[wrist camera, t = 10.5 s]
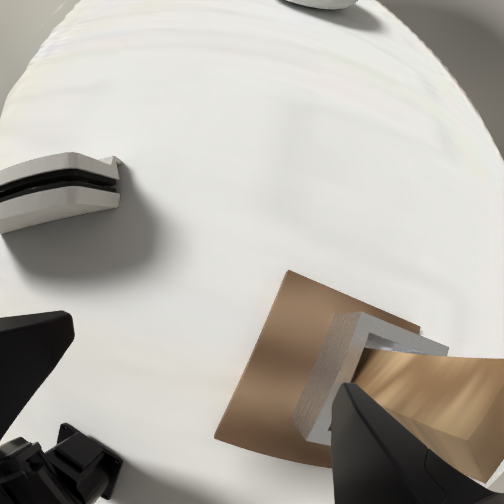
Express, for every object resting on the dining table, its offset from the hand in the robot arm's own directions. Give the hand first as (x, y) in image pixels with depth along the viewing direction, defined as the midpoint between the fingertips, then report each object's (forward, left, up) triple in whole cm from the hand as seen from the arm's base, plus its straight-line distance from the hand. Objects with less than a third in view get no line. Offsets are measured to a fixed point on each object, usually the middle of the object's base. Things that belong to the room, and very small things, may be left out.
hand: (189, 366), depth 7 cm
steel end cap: (+1, -12, -11) cm, 16 cm away
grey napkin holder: (+3, +20, -13) cm, 24 cm away
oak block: (+1, -12, -10) cm, 16 cm away
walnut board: (0, -9, -12) cm, 16 cm away
